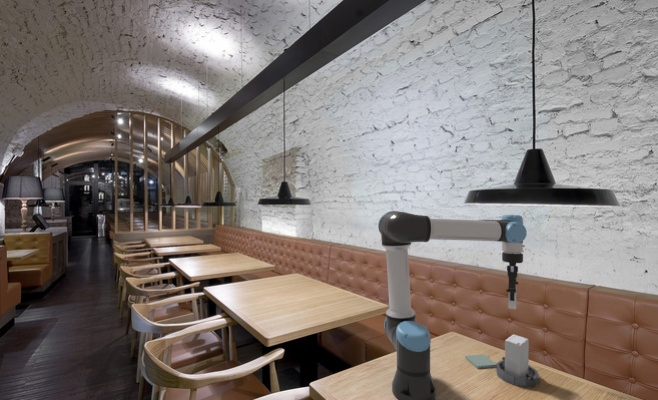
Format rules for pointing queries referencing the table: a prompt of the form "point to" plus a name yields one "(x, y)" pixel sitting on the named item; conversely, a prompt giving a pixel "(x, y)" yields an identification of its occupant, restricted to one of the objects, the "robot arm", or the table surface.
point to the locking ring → (530, 381)
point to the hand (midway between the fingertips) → (512, 304)
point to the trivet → (480, 361)
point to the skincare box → (517, 356)
